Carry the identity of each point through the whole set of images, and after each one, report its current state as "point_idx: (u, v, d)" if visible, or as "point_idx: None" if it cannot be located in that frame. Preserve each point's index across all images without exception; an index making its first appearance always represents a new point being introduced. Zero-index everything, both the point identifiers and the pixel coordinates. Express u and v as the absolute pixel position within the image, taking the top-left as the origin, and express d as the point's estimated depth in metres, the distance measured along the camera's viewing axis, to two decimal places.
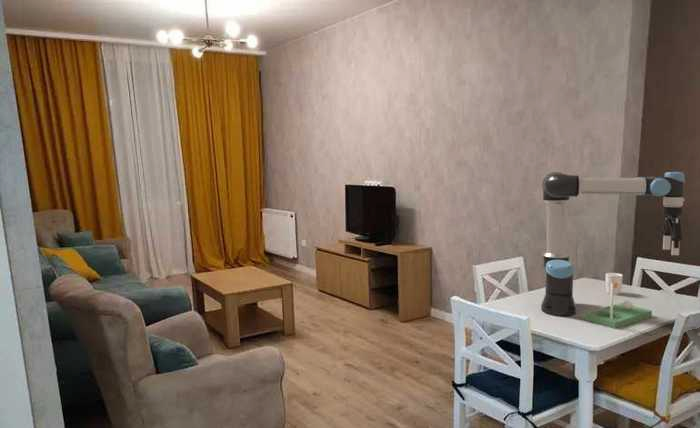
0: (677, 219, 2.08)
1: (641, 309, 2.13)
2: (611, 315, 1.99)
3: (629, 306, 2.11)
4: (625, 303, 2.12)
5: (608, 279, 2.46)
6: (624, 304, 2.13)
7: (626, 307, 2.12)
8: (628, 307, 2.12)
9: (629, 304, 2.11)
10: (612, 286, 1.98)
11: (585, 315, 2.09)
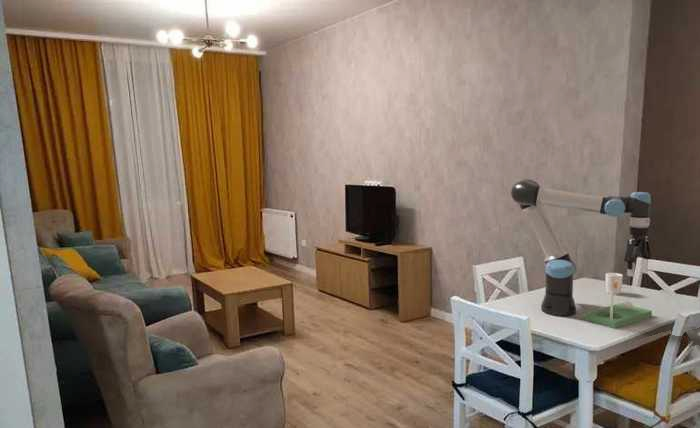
0: (630, 241, 2.10)
1: (641, 309, 2.13)
2: (611, 315, 1.99)
3: (629, 306, 2.11)
4: (625, 303, 2.12)
5: (608, 279, 2.46)
6: (624, 304, 2.13)
7: (626, 307, 2.12)
8: (628, 307, 2.12)
9: (629, 304, 2.11)
10: (612, 286, 1.98)
11: (585, 315, 2.09)
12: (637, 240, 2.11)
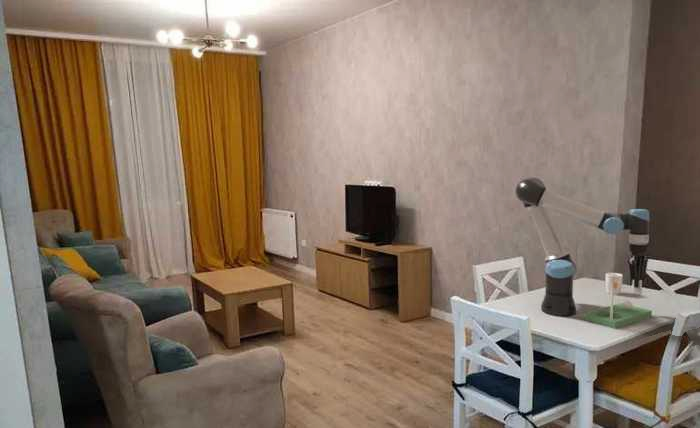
0: (630, 262, 2.11)
1: (641, 309, 2.13)
2: (611, 315, 1.99)
3: (629, 306, 2.11)
4: (625, 303, 2.12)
5: (608, 279, 2.46)
6: (624, 304, 2.13)
7: (626, 307, 2.12)
8: (628, 307, 2.12)
9: (629, 304, 2.11)
10: (612, 286, 1.98)
11: (585, 315, 2.09)
12: (637, 257, 2.12)
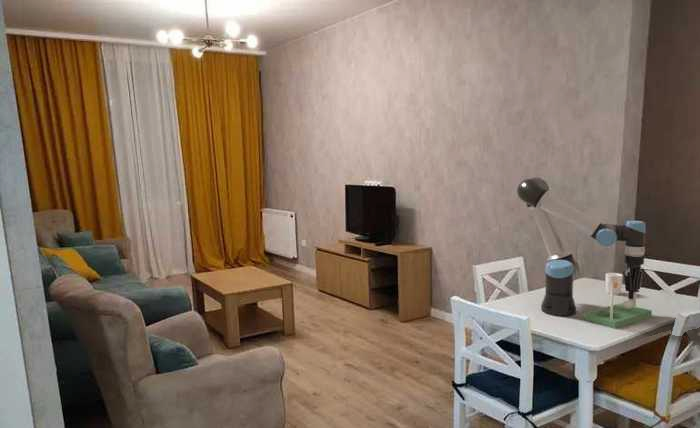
0: (626, 273, 2.11)
1: (641, 309, 2.13)
2: (611, 315, 1.99)
3: (629, 306, 2.11)
4: (625, 303, 2.12)
5: (608, 279, 2.46)
6: (624, 304, 2.13)
7: (626, 307, 2.12)
8: (628, 307, 2.12)
9: (629, 304, 2.11)
10: (612, 286, 1.98)
11: (585, 315, 2.09)
12: (632, 269, 2.11)
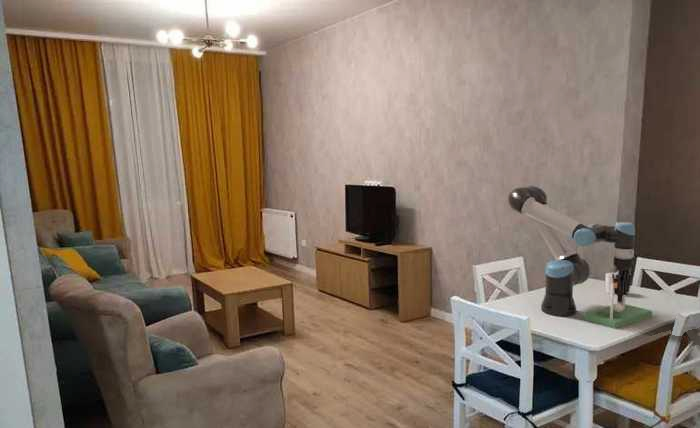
0: (614, 276, 2.07)
1: (641, 309, 2.13)
2: (611, 315, 1.99)
3: None
4: None
5: (608, 279, 2.46)
6: None
7: None
8: (622, 306, 2.09)
9: None
10: (612, 286, 1.98)
11: (585, 315, 2.09)
12: (621, 271, 2.07)
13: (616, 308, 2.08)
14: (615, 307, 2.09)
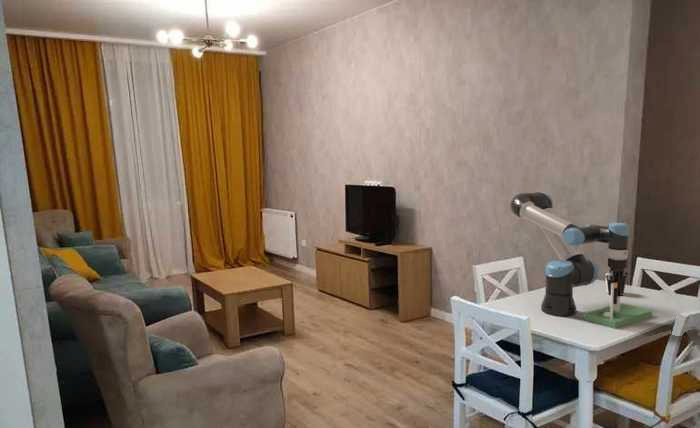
0: (608, 277, 2.04)
1: (641, 309, 2.13)
2: (611, 315, 1.99)
3: None
4: None
5: None
6: None
7: None
8: None
9: None
10: (612, 286, 1.98)
11: (585, 315, 2.09)
12: (615, 273, 2.05)
13: None
14: None
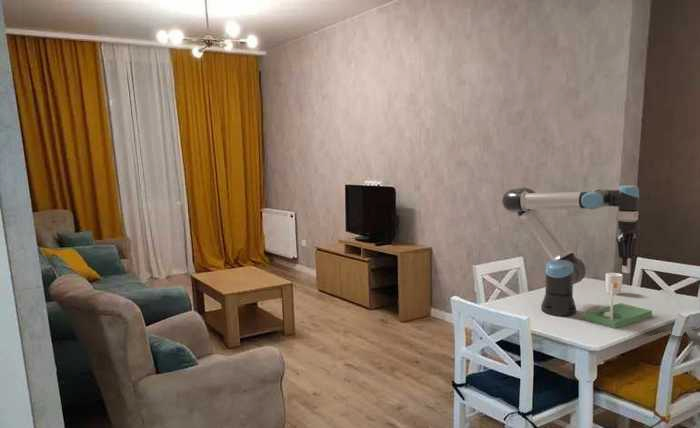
0: (619, 239, 2.07)
1: (641, 309, 2.13)
2: (611, 315, 1.99)
3: None
4: None
5: (608, 279, 2.46)
6: None
7: None
8: None
9: None
10: (612, 286, 1.98)
11: (585, 315, 2.09)
12: (625, 234, 2.07)
13: None
14: None
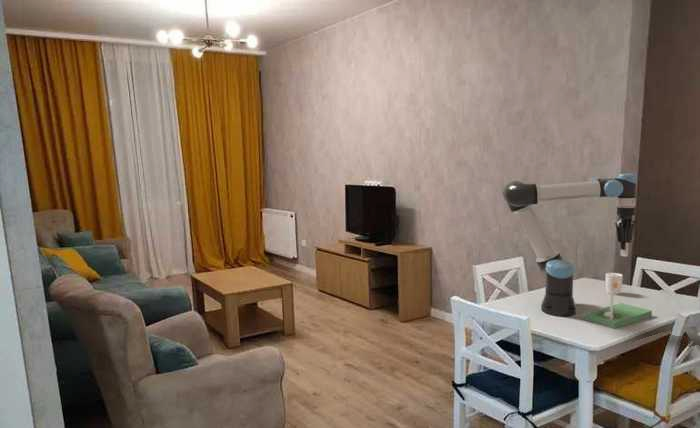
0: (617, 224, 2.19)
1: (641, 309, 2.13)
2: (611, 315, 1.99)
3: None
4: None
5: (608, 279, 2.46)
6: None
7: None
8: None
9: None
10: (612, 286, 1.98)
11: (585, 315, 2.09)
12: (624, 220, 2.19)
13: None
14: None
